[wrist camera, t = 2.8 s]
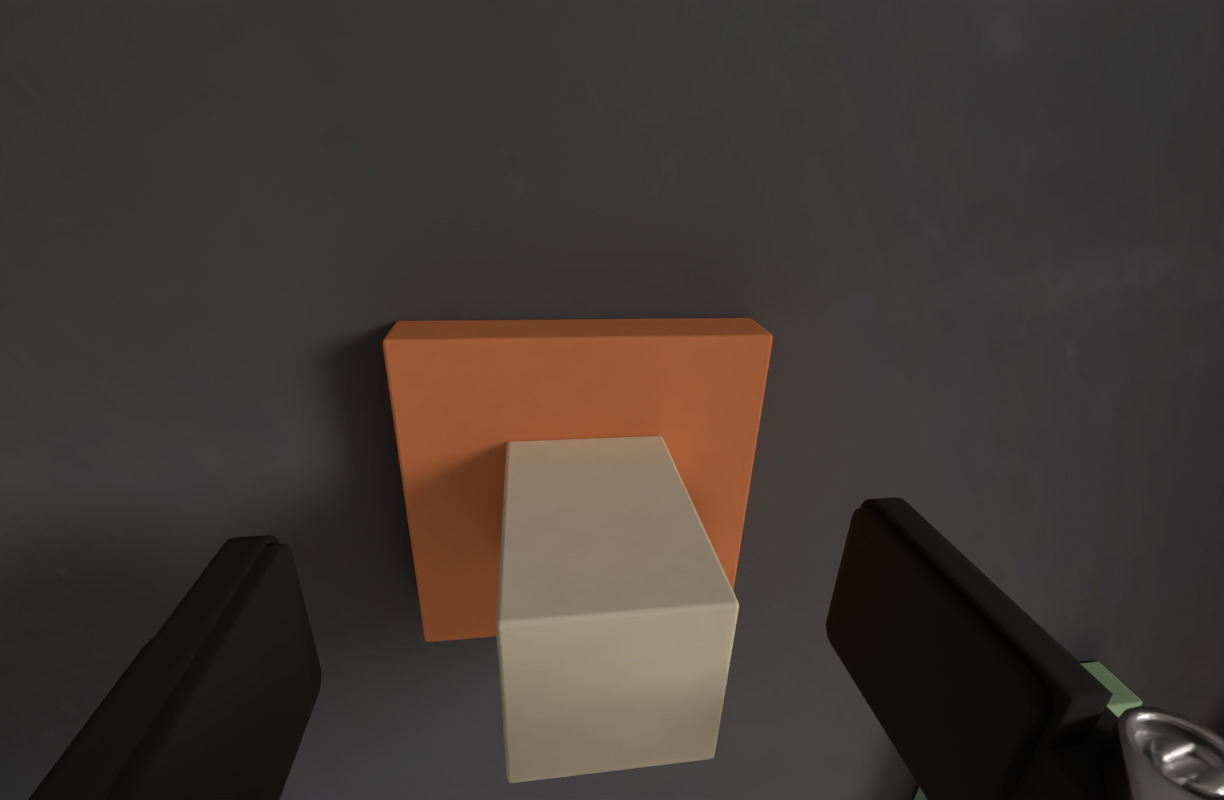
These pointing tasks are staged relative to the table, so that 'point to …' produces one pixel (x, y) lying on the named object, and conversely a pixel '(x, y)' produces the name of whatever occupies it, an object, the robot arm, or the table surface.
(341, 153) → the table surface
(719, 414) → the terracotta pad
